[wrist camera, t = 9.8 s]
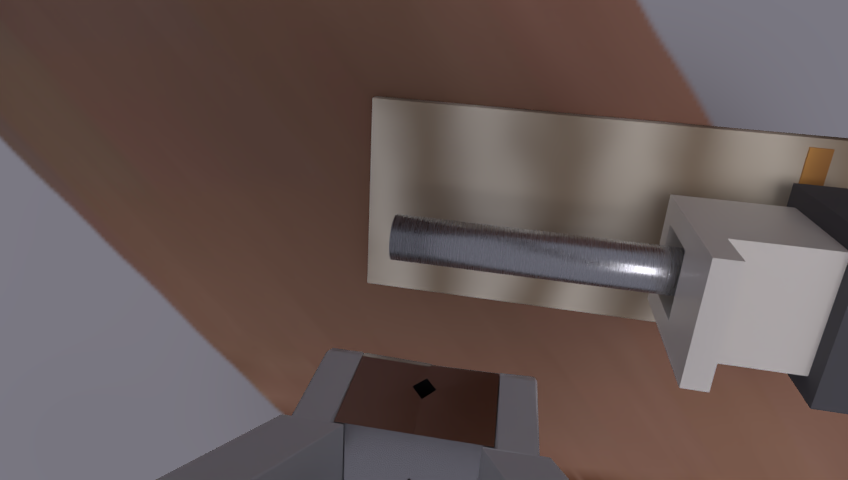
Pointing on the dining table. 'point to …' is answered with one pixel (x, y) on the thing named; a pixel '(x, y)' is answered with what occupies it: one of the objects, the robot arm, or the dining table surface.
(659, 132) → the rod holder plate
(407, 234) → the pipe
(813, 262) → the sleeve
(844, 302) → the charcoal grey box
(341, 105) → the dining table surface
